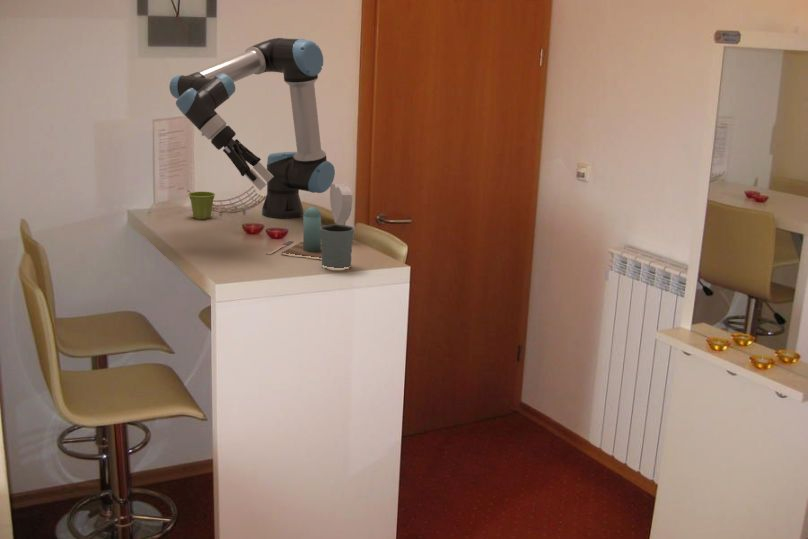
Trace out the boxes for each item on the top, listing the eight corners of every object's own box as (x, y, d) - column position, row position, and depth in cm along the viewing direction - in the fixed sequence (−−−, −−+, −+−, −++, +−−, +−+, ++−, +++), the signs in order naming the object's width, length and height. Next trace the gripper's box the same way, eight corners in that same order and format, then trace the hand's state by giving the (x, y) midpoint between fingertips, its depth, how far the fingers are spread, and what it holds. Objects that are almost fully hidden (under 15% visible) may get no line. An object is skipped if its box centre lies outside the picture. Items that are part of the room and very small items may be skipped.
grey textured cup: (325, 272, 271) (326, 232, 268) (314, 263, 280) (315, 224, 277) (357, 270, 275) (359, 230, 272) (346, 261, 284) (347, 223, 281)
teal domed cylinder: (307, 246, 296) (307, 204, 293) (323, 248, 295) (323, 205, 291) (300, 250, 291) (300, 207, 288) (316, 252, 290) (317, 209, 286)
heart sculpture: (353, 243, 307) (354, 189, 302) (338, 243, 306) (339, 189, 301) (340, 232, 321) (342, 181, 316) (326, 232, 320) (328, 181, 315)
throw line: (289, 241, 305) (289, 240, 305) (293, 242, 304) (293, 241, 304) (265, 254, 288) (265, 253, 288) (270, 254, 288) (270, 253, 288)
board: (301, 244, 303) (301, 241, 302) (341, 248, 299) (341, 246, 299) (281, 255, 288) (281, 252, 287) (323, 260, 284) (323, 257, 284)
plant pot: (212, 221, 329) (212, 197, 327) (185, 219, 329) (185, 195, 327) (217, 215, 338) (217, 192, 336) (192, 214, 338) (191, 190, 336)
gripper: (218, 135, 297) (265, 184, 301) (200, 146, 273) (251, 199, 277) (235, 119, 296) (281, 168, 300) (218, 129, 272) (269, 182, 276)
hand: (267, 183), depth 288 cm, fingers open, 13 cm apart
